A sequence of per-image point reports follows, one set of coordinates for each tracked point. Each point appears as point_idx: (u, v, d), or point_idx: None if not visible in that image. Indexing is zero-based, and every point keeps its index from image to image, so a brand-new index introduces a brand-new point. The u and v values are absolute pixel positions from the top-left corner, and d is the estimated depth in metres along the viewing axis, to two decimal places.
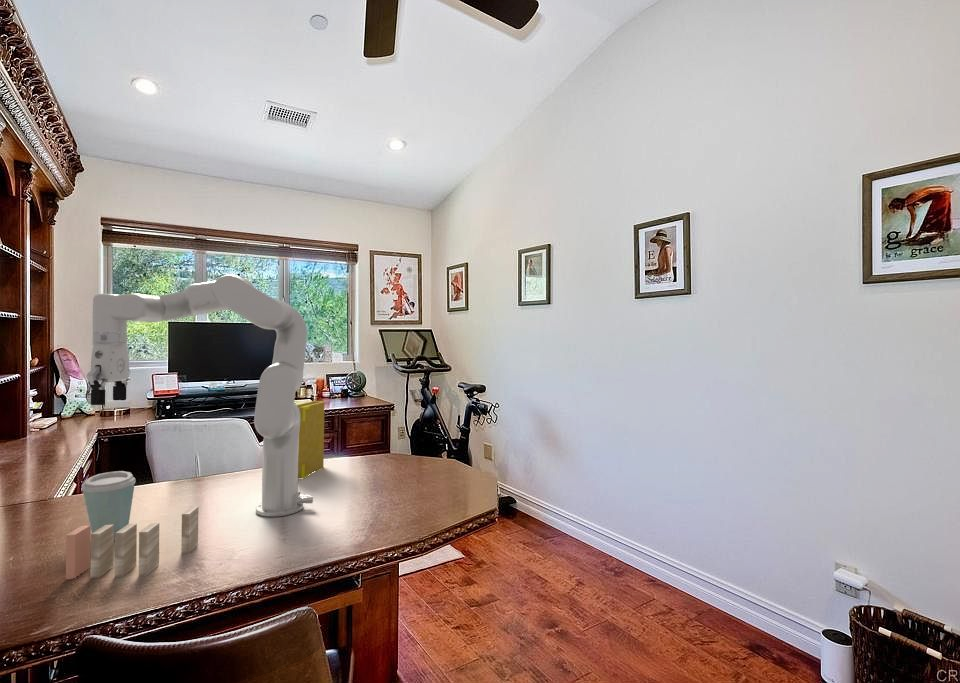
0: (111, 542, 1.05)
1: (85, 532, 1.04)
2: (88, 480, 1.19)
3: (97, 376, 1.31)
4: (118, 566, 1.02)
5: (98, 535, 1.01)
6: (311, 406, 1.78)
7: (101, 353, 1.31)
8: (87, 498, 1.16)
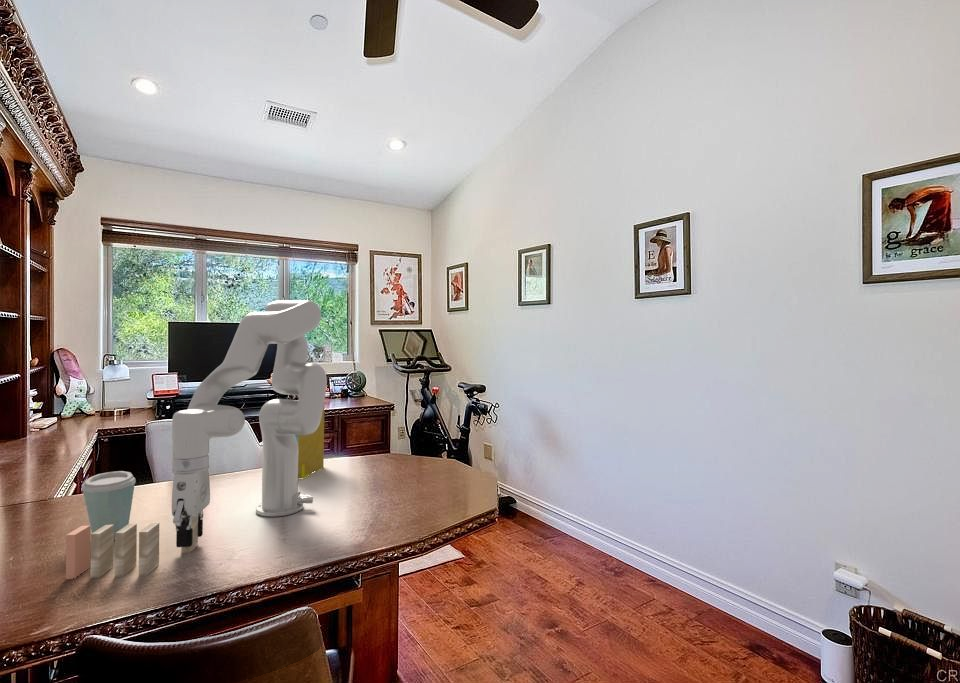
0: (111, 542, 1.05)
1: (85, 532, 1.04)
2: (88, 480, 1.19)
3: None
4: (118, 566, 1.02)
5: (98, 535, 1.01)
6: None
7: (183, 484, 1.11)
8: (87, 498, 1.16)
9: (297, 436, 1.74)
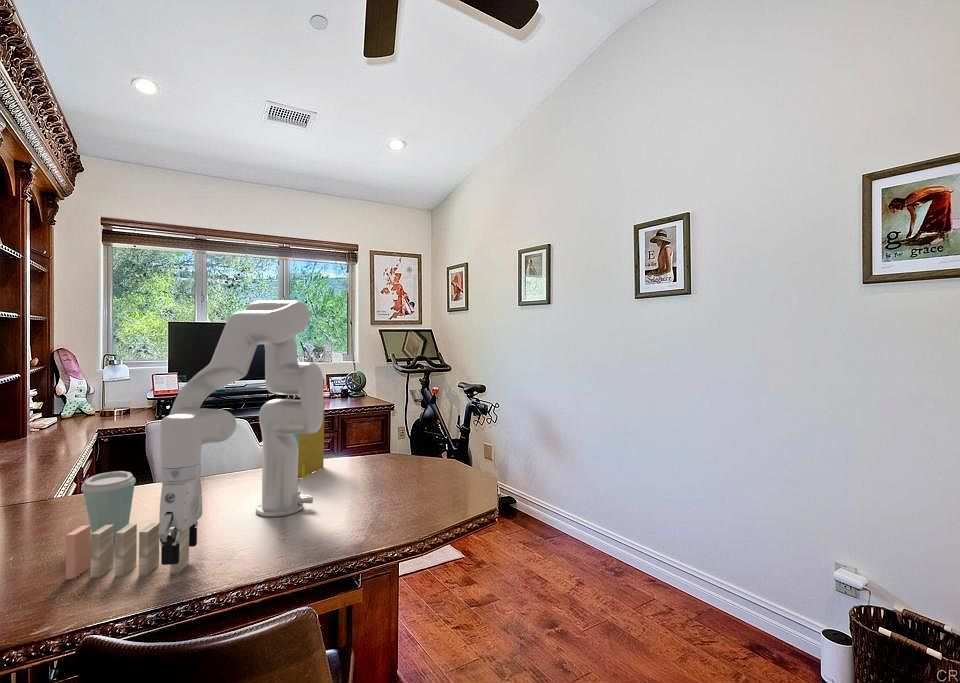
0: (111, 542, 1.05)
1: (85, 532, 1.04)
2: (88, 480, 1.19)
3: None
4: (118, 566, 1.02)
5: (98, 535, 1.01)
6: None
7: (172, 495, 1.01)
8: (87, 498, 1.16)
9: (297, 436, 1.74)
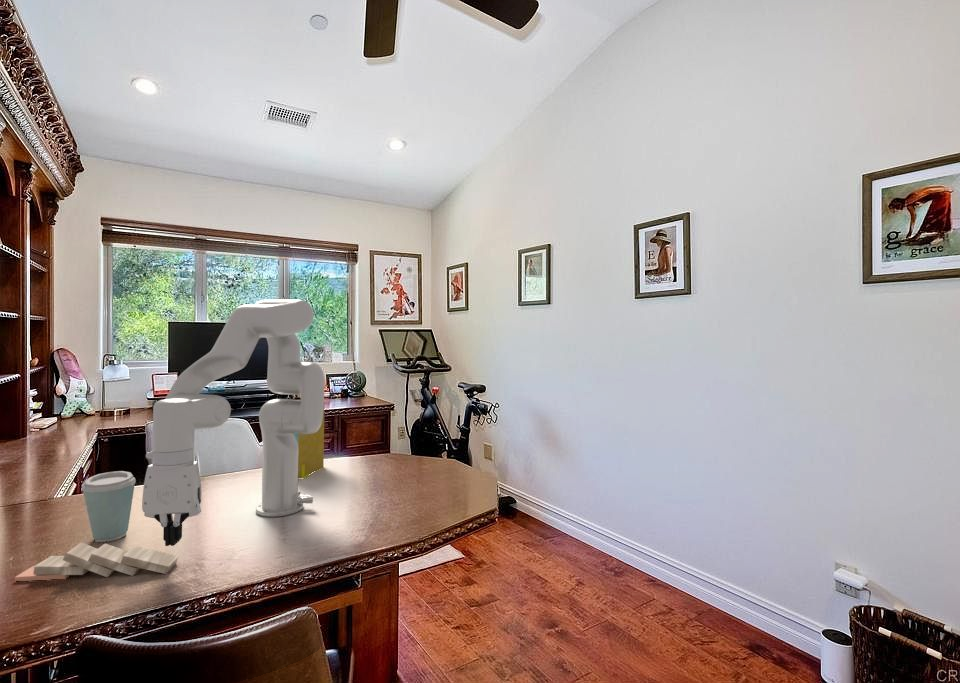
0: None
1: (32, 568, 1.02)
2: (88, 480, 1.19)
3: None
4: (98, 570, 1.01)
5: (36, 567, 0.99)
6: None
7: None
8: (87, 498, 1.16)
9: (297, 436, 1.74)
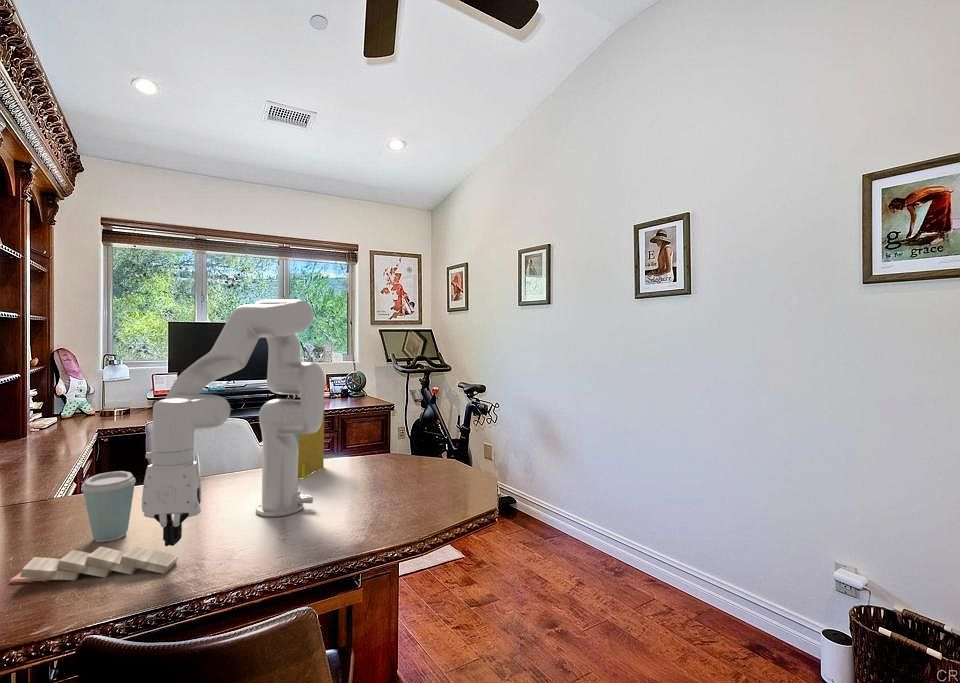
0: (53, 560, 1.02)
1: None
2: (88, 480, 1.19)
3: None
4: (95, 571, 1.01)
5: (24, 570, 0.96)
6: None
7: None
8: (87, 498, 1.16)
9: (297, 436, 1.74)
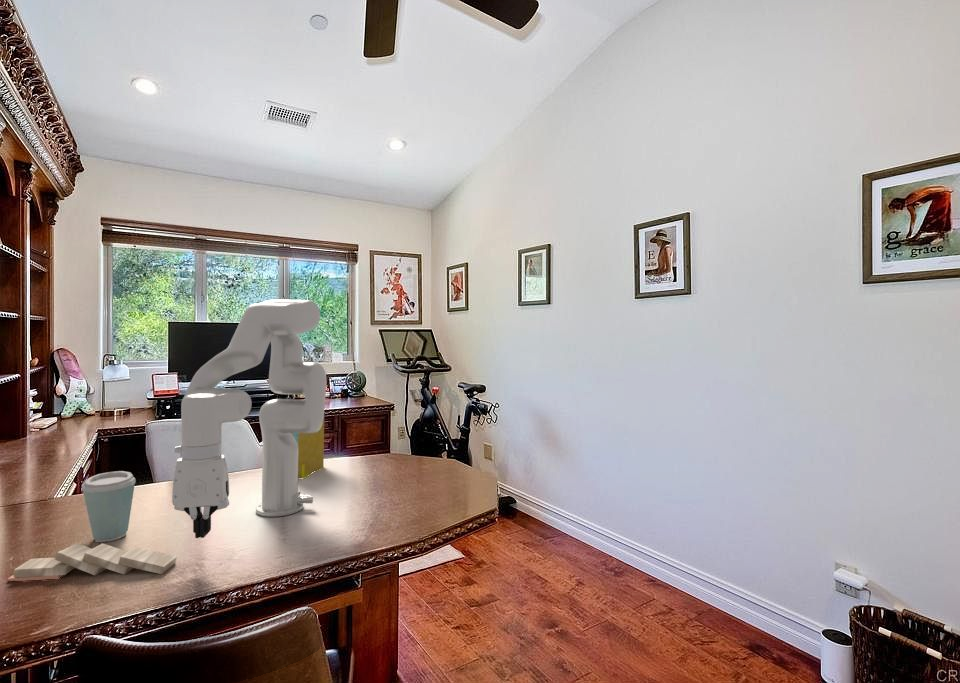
0: (48, 559, 1.04)
1: None
2: (88, 480, 1.19)
3: None
4: (86, 568, 1.01)
5: (16, 570, 0.99)
6: None
7: None
8: (87, 498, 1.16)
9: (297, 436, 1.74)
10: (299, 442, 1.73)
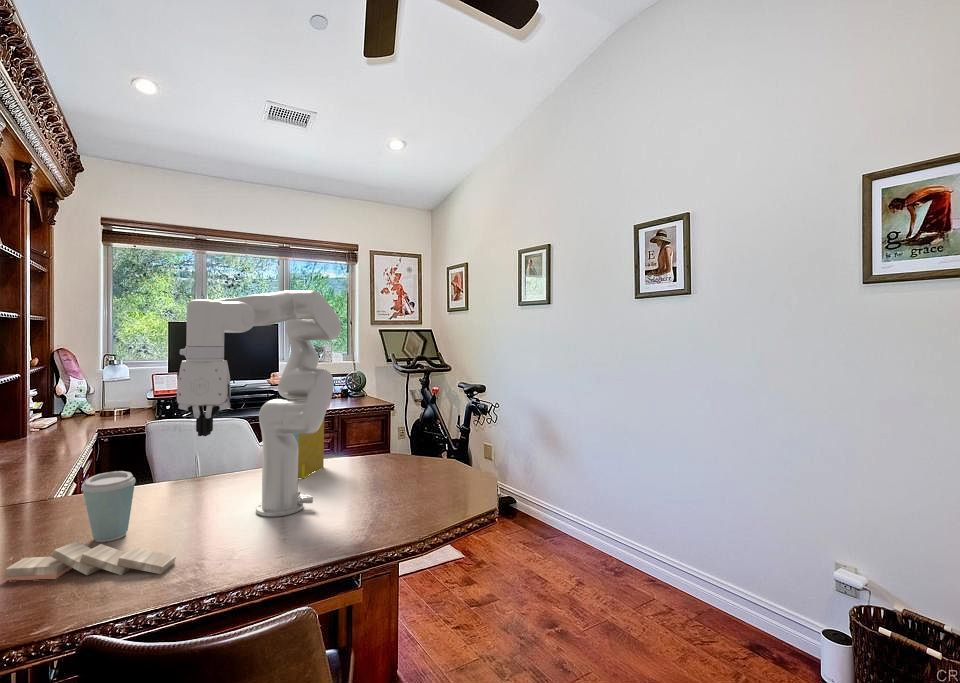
0: (40, 558, 1.04)
1: None
2: (88, 480, 1.19)
3: None
4: (79, 567, 1.02)
5: (8, 570, 0.99)
6: None
7: None
8: (87, 498, 1.16)
9: (297, 436, 1.74)
10: (299, 442, 1.73)
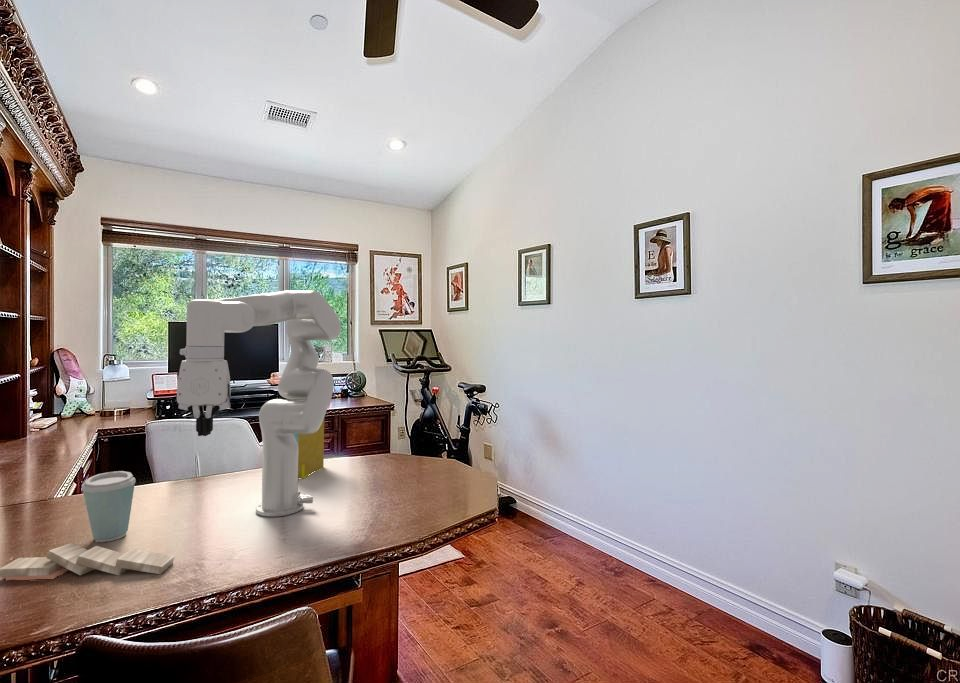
0: (34, 559, 1.04)
1: None
2: (88, 480, 1.19)
3: None
4: (73, 567, 1.01)
5: (1, 570, 0.99)
6: None
7: None
8: (87, 498, 1.16)
9: (297, 436, 1.74)
10: (299, 442, 1.73)
